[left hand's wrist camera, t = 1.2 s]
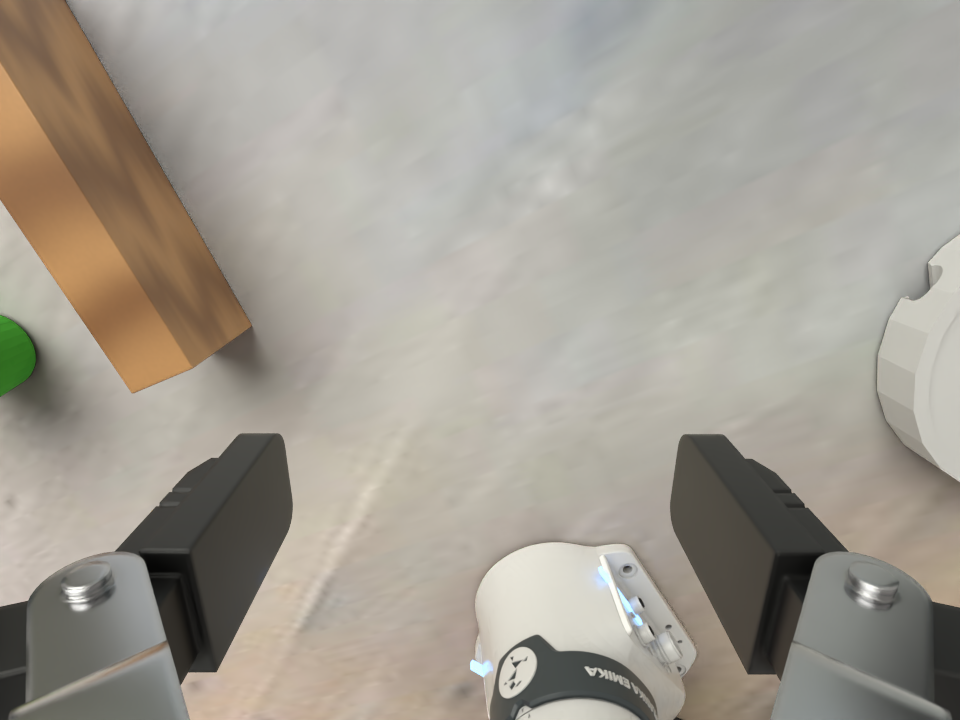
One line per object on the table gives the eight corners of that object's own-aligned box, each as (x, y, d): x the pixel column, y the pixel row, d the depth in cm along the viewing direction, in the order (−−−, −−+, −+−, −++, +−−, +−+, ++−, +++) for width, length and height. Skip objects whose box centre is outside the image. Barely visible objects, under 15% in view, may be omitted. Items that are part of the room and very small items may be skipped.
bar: (-4, 10, 36) (-164, -41, 27) (53, -21, 35) (-92, -84, 26) (203, 346, 44) (131, 394, 35) (252, 325, 43) (192, 368, 34)
